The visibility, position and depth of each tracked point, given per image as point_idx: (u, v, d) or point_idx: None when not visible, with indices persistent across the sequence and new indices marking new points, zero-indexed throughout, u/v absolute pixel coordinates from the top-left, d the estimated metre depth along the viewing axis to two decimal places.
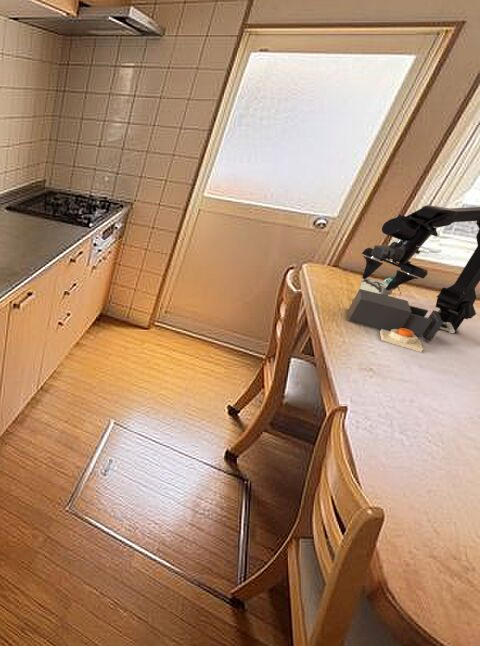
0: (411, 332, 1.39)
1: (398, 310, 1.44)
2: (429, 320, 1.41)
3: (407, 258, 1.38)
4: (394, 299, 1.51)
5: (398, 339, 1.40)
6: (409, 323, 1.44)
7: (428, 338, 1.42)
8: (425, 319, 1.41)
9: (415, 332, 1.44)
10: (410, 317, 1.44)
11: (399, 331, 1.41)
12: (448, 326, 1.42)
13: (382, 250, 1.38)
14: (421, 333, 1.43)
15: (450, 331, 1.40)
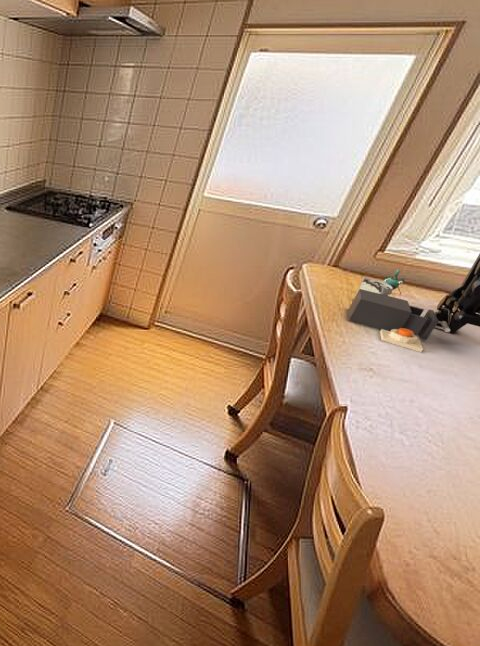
0: (411, 332, 1.39)
1: (398, 310, 1.44)
2: (425, 319, 1.41)
3: None
4: (394, 299, 1.51)
5: (398, 339, 1.40)
6: (405, 322, 1.45)
7: (424, 337, 1.42)
8: (421, 318, 1.42)
9: None
10: None
11: (399, 331, 1.41)
12: (444, 325, 1.42)
13: None
14: (417, 332, 1.44)
15: (445, 330, 1.40)
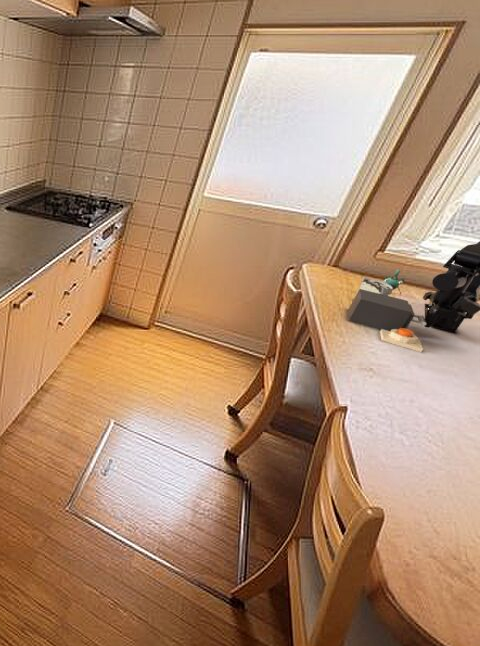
0: (411, 332, 1.39)
1: (398, 310, 1.44)
2: None
3: None
4: (394, 299, 1.51)
5: (398, 339, 1.40)
6: None
7: None
8: None
9: None
10: None
11: (399, 331, 1.41)
12: (420, 319, 1.45)
13: None
14: None
15: (422, 323, 1.43)
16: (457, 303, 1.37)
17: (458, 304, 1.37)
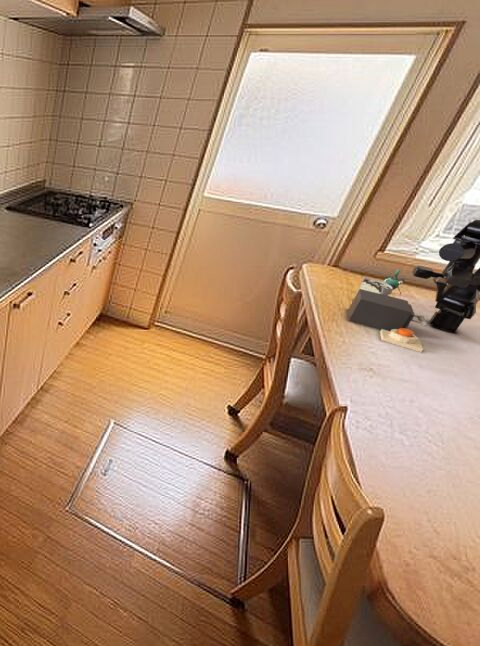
0: (411, 332, 1.39)
1: (398, 310, 1.44)
2: None
3: None
4: (394, 299, 1.51)
5: (398, 339, 1.40)
6: None
7: None
8: None
9: None
10: None
11: (399, 331, 1.41)
12: (420, 319, 1.45)
13: (467, 280, 1.33)
14: None
15: (422, 323, 1.43)
16: (446, 270, 1.39)
17: (445, 271, 1.39)
